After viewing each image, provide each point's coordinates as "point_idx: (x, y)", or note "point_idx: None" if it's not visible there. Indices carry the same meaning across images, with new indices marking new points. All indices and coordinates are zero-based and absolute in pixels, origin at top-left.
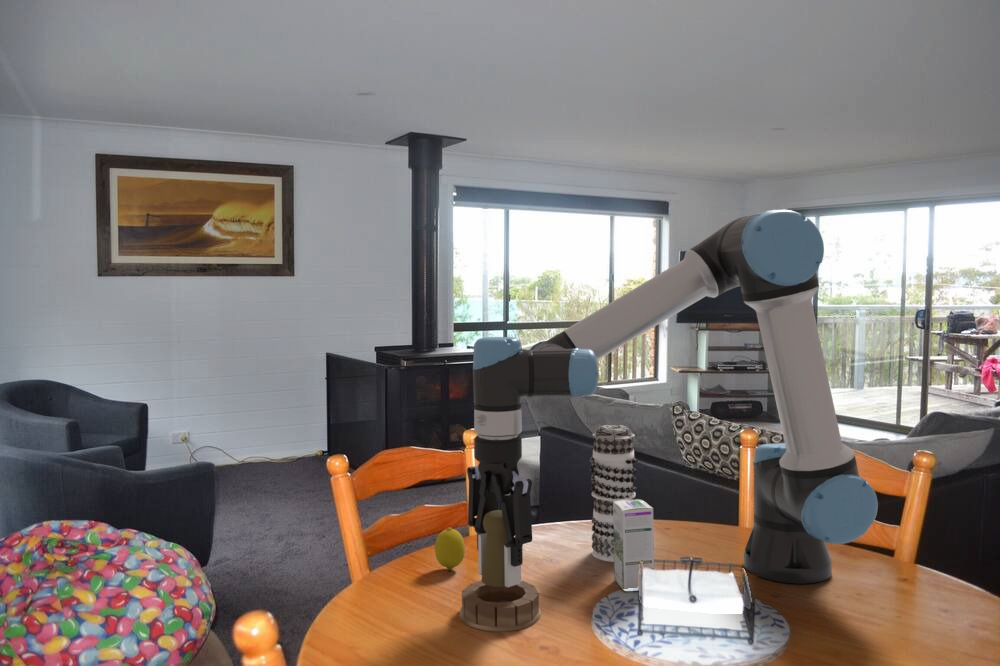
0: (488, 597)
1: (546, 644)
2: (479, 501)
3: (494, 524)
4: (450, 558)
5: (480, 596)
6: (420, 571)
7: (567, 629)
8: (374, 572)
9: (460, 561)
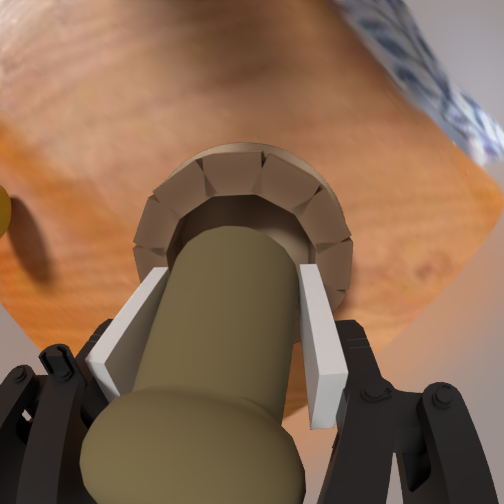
0: (178, 244)
1: (421, 260)
2: (3, 479)
3: None
4: (2, 226)
5: None
6: (5, 249)
7: (411, 179)
8: (2, 304)
9: (5, 195)
